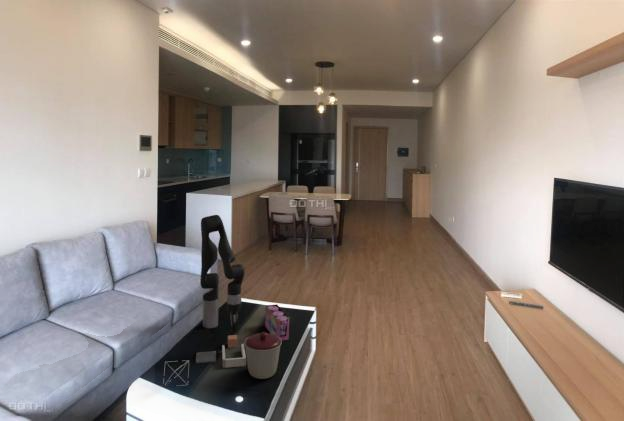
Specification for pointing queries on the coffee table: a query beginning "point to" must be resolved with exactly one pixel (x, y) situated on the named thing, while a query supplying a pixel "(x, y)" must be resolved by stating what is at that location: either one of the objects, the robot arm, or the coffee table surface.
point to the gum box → (277, 322)
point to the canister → (262, 354)
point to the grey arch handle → (234, 359)
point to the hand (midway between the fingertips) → (233, 331)
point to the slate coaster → (206, 357)
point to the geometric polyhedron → (176, 373)
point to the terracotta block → (232, 341)
